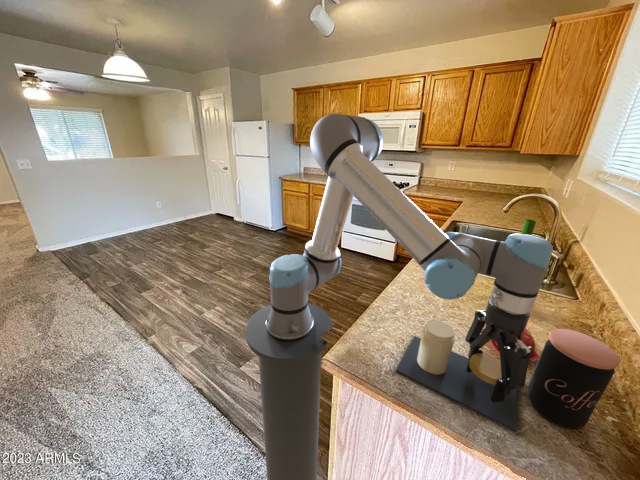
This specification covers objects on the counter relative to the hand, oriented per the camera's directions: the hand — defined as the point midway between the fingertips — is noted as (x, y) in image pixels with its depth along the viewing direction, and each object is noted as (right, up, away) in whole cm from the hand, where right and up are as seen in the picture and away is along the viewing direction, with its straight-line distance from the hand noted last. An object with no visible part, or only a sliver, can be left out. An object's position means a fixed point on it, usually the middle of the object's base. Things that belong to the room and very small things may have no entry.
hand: (483, 384), depth 65 cm
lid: (0, +5, -2) cm, 6 cm away
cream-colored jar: (-10, +2, +7) cm, 12 cm away
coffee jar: (+14, -3, -4) cm, 15 cm away
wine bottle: (+31, +11, +37) cm, 49 cm away
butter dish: (+17, +3, +14) cm, 22 cm away
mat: (-5, 0, +4) cm, 6 cm away
